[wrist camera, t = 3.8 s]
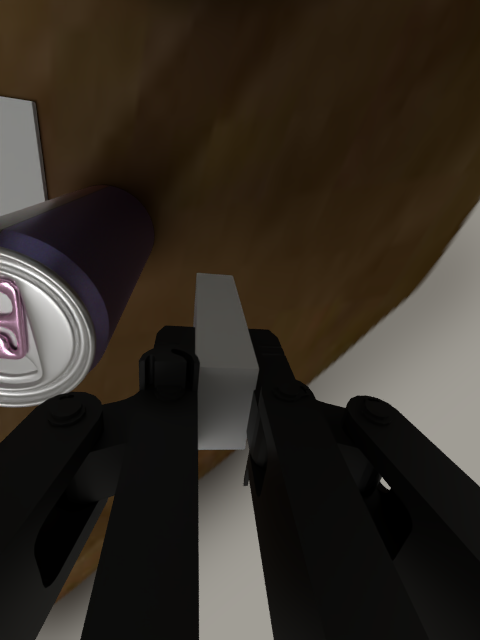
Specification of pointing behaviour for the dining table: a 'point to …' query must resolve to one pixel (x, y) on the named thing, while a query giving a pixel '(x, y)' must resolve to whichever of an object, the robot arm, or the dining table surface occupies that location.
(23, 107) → the flat grey rectangular board
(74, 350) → the beverage can
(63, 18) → the dining table surface
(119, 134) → the dining table surface
